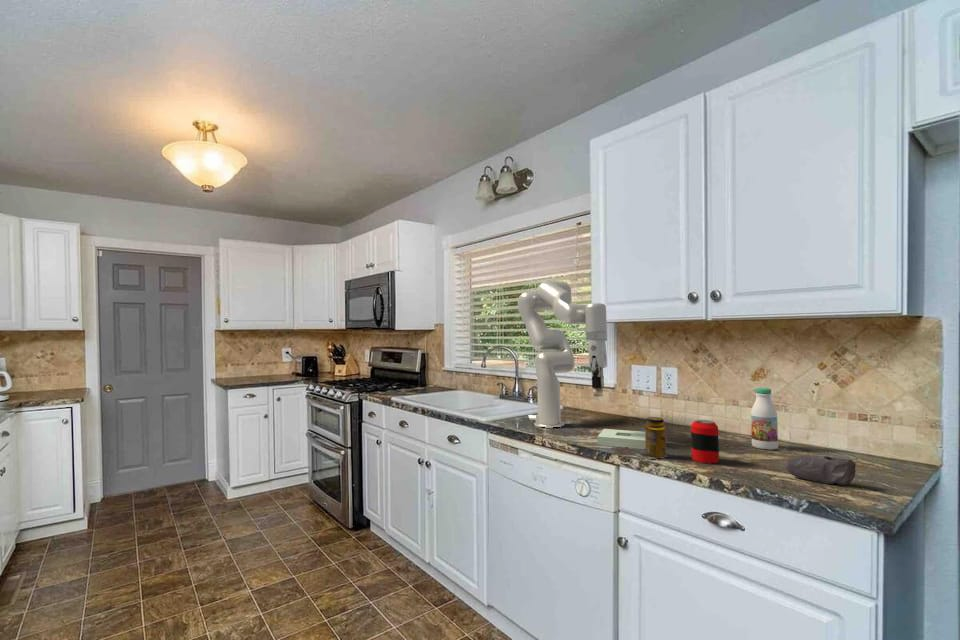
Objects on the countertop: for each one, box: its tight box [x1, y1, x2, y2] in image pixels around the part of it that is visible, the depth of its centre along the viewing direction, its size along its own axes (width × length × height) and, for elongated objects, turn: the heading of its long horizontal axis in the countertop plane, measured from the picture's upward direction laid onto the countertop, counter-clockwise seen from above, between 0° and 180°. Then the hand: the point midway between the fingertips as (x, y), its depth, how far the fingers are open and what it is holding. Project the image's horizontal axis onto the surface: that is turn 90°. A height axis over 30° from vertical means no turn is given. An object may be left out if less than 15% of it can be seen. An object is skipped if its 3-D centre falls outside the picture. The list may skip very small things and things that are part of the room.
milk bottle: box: [750, 387, 779, 451], centre depth 160 cm, size 8×8×20 cm
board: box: [596, 428, 646, 450], centre depth 169 cm, size 16×14×3 cm
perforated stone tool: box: [785, 455, 857, 486], centre depth 124 cm, size 15×5×7 cm, turn 47°
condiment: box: [635, 416, 667, 459], centre depth 151 cm, size 7×8×12 cm
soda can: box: [690, 419, 720, 464], centre depth 145 cm, size 8×8×12 cm
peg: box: [593, 368, 604, 398], centre depth 172 cm, size 4×4×10 cm
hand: (598, 386), depth 172 cm, fingers closed on peg, 3 cm apart
